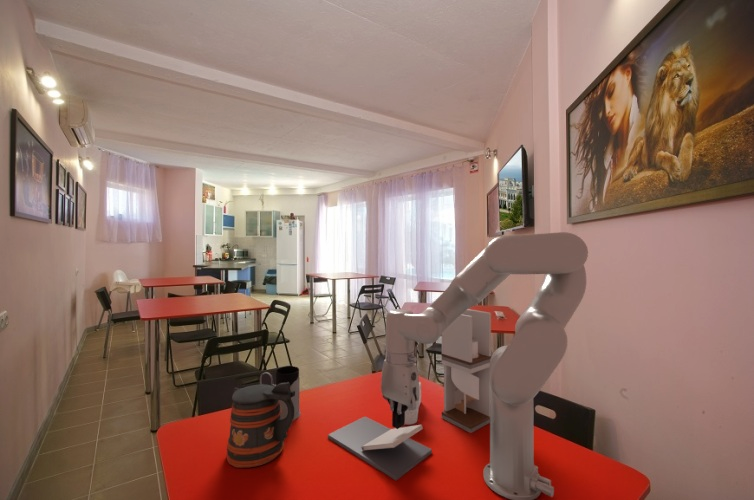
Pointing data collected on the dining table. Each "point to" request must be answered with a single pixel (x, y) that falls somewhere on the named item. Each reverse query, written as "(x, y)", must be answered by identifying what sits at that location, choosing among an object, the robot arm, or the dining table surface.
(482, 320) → the white tiered shelf stand
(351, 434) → the base
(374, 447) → the tile
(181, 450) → the dining table surface
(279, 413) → the beer stein
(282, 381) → the glass holder
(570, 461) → the dining table surface
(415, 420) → the white cup
